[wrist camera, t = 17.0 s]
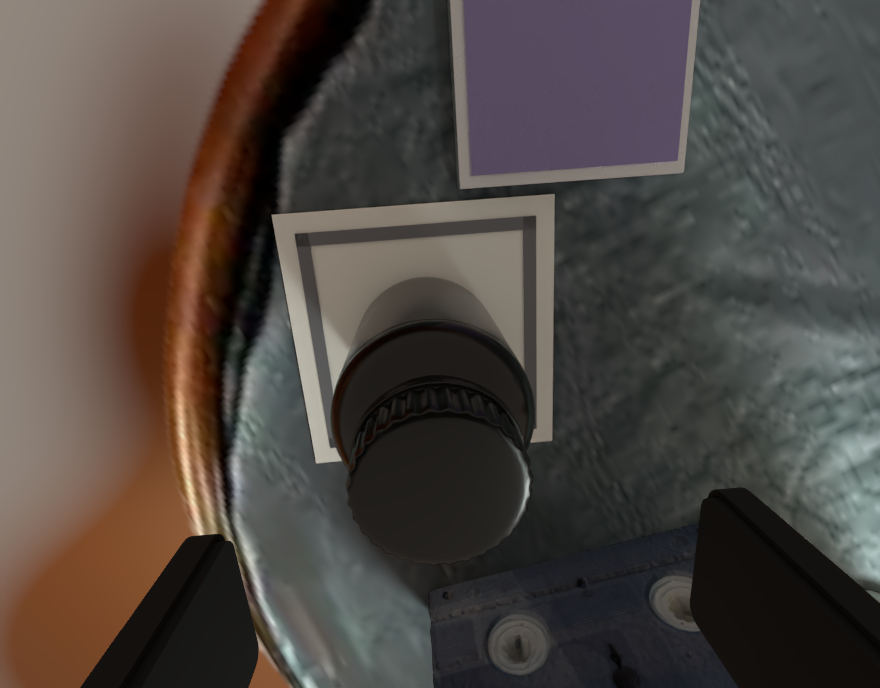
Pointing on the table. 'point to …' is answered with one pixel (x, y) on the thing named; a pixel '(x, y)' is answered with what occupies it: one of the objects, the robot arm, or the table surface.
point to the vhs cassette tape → (579, 622)
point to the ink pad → (570, 89)
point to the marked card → (411, 256)
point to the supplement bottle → (433, 425)
